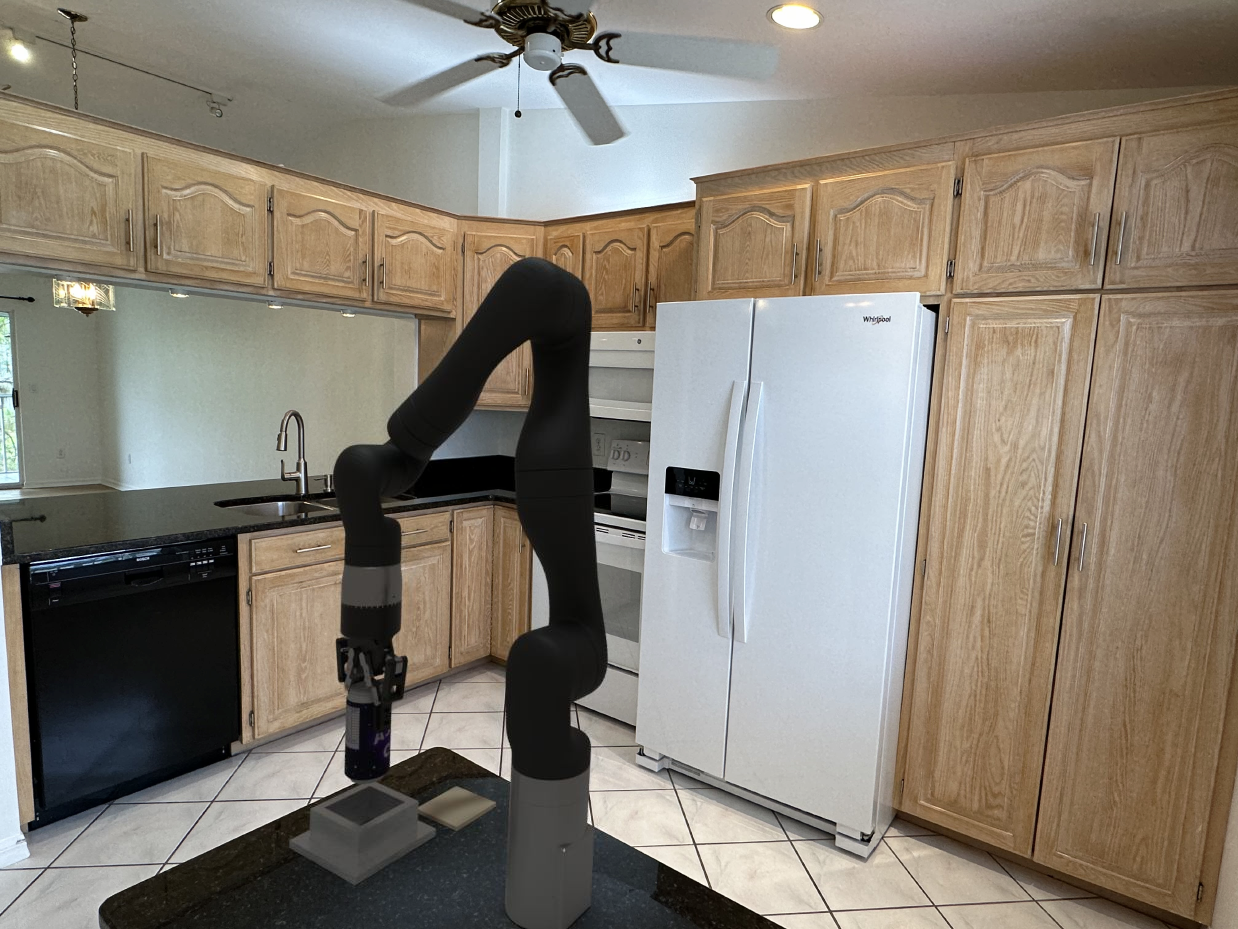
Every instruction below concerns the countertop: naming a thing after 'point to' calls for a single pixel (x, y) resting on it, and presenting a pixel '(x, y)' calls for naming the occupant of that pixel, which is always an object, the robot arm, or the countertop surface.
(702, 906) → the countertop surface
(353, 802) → the sleeve
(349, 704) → the beverage can
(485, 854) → the countertop surface
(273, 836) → the countertop surface
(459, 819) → the birch pad
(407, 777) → the countertop surface
